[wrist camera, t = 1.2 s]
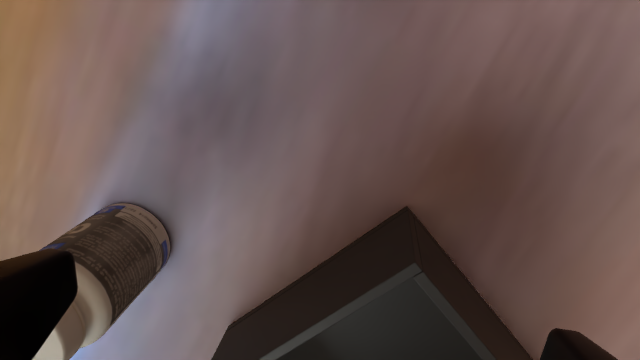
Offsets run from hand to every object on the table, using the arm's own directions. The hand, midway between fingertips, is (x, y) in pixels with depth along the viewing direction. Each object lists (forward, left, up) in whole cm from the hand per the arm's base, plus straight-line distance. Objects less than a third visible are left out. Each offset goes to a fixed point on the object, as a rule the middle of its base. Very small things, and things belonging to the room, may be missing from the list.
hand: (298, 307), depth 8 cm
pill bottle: (+3, +13, -14) cm, 20 cm away
